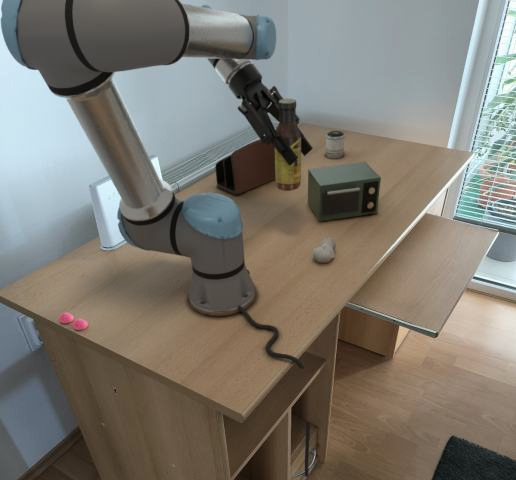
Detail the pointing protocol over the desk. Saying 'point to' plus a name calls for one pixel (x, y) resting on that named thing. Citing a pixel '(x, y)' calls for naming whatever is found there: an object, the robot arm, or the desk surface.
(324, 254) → the pale two-lobed sculpture
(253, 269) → the desk surface
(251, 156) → the letter holder
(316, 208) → the toaster oven
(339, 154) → the camera lens
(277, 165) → the sauce bottle
